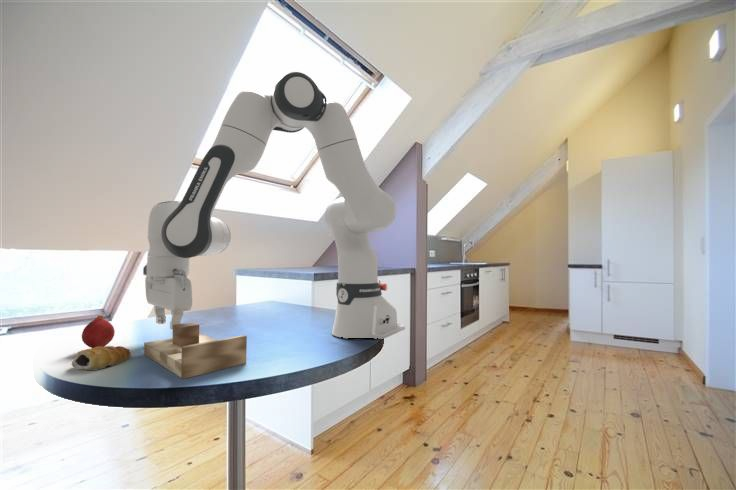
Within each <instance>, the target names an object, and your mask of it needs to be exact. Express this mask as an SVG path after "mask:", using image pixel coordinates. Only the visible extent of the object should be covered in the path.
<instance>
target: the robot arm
mask: <svg viewBox="0 0 736 490" xmlns="http://www.w3.org/2000/svg"><path fill="white" fill-rule="evenodd" d="M304 128H305V129H306V130H308V132H309V133H310V134H311V136H312V138H313V139H314V141H315V142H314V143H315V146H316V150H317V153H318V156H319V159H320V162H321V165H322V169H323V172H324V175H325V178H326V179H327V181H329V182H330V183H331V184H333V185H334V186H335V187H336V189H337V191H338V192H339V193H340V195H341V196H342V197H341V196H340V197H339V198H337V199H335V200H334V201H333V202H331V203H329V205H327V207H326V209H325V211H324V221H325V223H326V226H327V227H328V228H329V229H330V231H331V233H332V235H333V239H334V243H335V246H336V251H337V282H336V287H335V288H336V289H335V290H336V291H335V293H336V298H337V302H336V305H335V315H334V321H333V326H332V331H331V335H333V336H334V337H337V338H341V337H343V338H342V339H348V338H374V340H383V339H387V338H388V337H391V336H393V335H396V334H398V333H400V332H402V331H404V330H406V325H404V324H402V323H399V322H398V316H397V315H398V314H397V310H396V308H395V307H394V306H393V305H392V304H391V303H390V302H389V301H388V300H386V299H385V298H384V297H383V294H382V293H383V292H384V291H385V292H386V291H387V290H388V284H387V283H381V282H380V283H379V282H378V277H379V276H378V270H379V269H378V266H379V265H378V264H379V263H378V262H379V260H378V254H377V253H376V251H375V250H374V249H373V248H372V246H371V244H370V241H369V237H368V233H375V232H378V231H381V230H384V229H386V228H388V227H390V226H391V225H392V224H393V223H394V221H395V219H396V216H397V207H396V203H395V201H394V199H393V197H392V196H391V194H389V193H387V192H386V191H384V190H383V189H381V188H380V186H379V185H378V184H377V183H376V182H375V180H374V179H373V177H372V176H371V174H370V172H369V171H368V169H367V167H366V164H365V161H364V157H363V155H362V151H361V148H360V145H359V142H358V139H357V134H356V132H355V128H354V126H353V124H352V122H351V119H350V116H349V115H348V113H347V111H346V109H345V108H344V106H343V105H342V104H341V103H339V102H335V101H327V97H326V96H325V94H324V93H323V92H322V90H320V88H319V87H318V86H317V84H316V82H315V81H314V80H313V79H312V78H311V77H310V76H308V75H307V74H305V73H302V72H298V71H291V72H288V73H286V74H284V75H283V76H281V77H280V79H278V80H277V82H276V84H275V86H274V90H273V92H272V94H269V95H267V94H262V93H260V92H258V91H255V90H247V89H246V90H243V91H241V92H239V93H238V94H237V95H236V97H235V98H234V99H233V101H232V102H231V104H230V106H229V108H228V110H227V111H226V114H225V115H224V117H223V120H222V122H221V125H220V128H219V129H218V132H217V134H216V137H215V138H214V141H213V144H212V145H211V147H210V148H209V149H208V151H207V152H206V154H205V155H204V157H203V159H202V160H201V162H200V164H199V166H198V167H197V170H196V172H195V174H194V176H193V178H192V180H191V182H190V183H189V186H188V188H187V190H186V192H185V193H184V195H183V197H182V200H181V201H176V200H174V201H172V200H168V201H167V200H166V201H163V202H159V203H156V204H155V205H153V207H152V208H151V210H150V213H149V216H148V217H149V218H148V224H147V225H148V226H147V240H148V245H149V250H148V252H147V258H146V259H147V260H146V261H147V262H146V264H145V265H144V266H143V267H142V274H143V275H144V276H145V280H144V282H145V286H144V287H145V298H146V302H147V304H149V305H153V310H154V314H155V323H156V324H158V325H164V324H166V322H167V316H166V314H165V310H168V311H170V314H171V321H170V322H169V325H170V326H169V329H170V330H173V325H176V324H182V323H181V322H182V318H183V316H184V312H188V311H191V310H192V307H193V288H192V281H191V279H190V278H189V277H188V276H189V275H190V259H191V258H196V257H199V256H200V257H203V256H213V255H217V254H219V253H222V252H223V251H225V250H226V249H227V247H228V246H229V244H230V242H231V231H230V228H229V226H228V225H227V224H226V222H224V221H223V220H222V219H219V218H217V217H214V216H212V215H213V212H214V210H215V208H216V206H217V204H218V202H219V199H220V197H221V196H222V193H223V191H224V189H225V187H226V185H227V183H228V182H229V181H230V180H231V179H232V178H233V177H236V176H237V175H240V174H245V173H248V172H250V171H252V170H254V169H256V167H257V165H258V164H259V162H260V160H261V158H262V156H263V154H264V152H265V149H266V147H267V144H268V141H269V139H270V136H271V134H272V132H273V131H277V132H284V133H288V134H290V133H298V132H300V131H302V130H303V129H304ZM382 291H383V292H382ZM377 338H378V339H377Z"/></svg>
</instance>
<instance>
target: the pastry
mask: <svg viewBox="0 0 736 490" xmlns="http://www.w3.org/2000/svg"><path fill="white" fill-rule="evenodd" d="M130 358H131V349H129V348H127V347H124V346H121V345H120V346H113V345H109V346H108V345H106V346H104V347H103V346H98V347H95V348H91V347H90V348H86V349H82V350H79V351H78V352H76V355H75V356H74V357H73V360H72V361H71V366H72V367H73V368H74V370H77V369H85V371H93V370H94V369H98V370H102V369H105V368H106V367H107V366H111V367H112V366H115V365H117V364H120V363H123V362H125V361H127V360H129V359H130ZM94 371H95V370H94Z"/></svg>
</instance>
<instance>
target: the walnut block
mask: <svg viewBox="0 0 736 490" xmlns="http://www.w3.org/2000/svg"><path fill="white" fill-rule="evenodd" d="M199 334H200V324H198V323H195V322H192V321H190V322H184V323H181V324H176V325H173V329H172V338H173V341H172V343H173V344H175V345H177V346H179V347H181V346H186V345H191V344H197V343H199Z"/></svg>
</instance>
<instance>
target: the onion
mask: <svg viewBox="0 0 736 490" xmlns="http://www.w3.org/2000/svg"><path fill="white" fill-rule="evenodd" d="M115 332H116V331H115V327H114V325H113V324H112V323H111V322H110V321H109V320H107V319H104V315H103V314H98V315H97V316H96V317H95V318H93V320H91V321H90V322H89V323H88V324H86V326H84V328H83V330H82V333H81V340H82V342H83V344H84V345H86V346H87V347H89V348H90V349H91V348H95V347H98V346H103V347H105V346H108V345H109V344H110V342H111V341H113V339H114V337H115Z"/></svg>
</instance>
